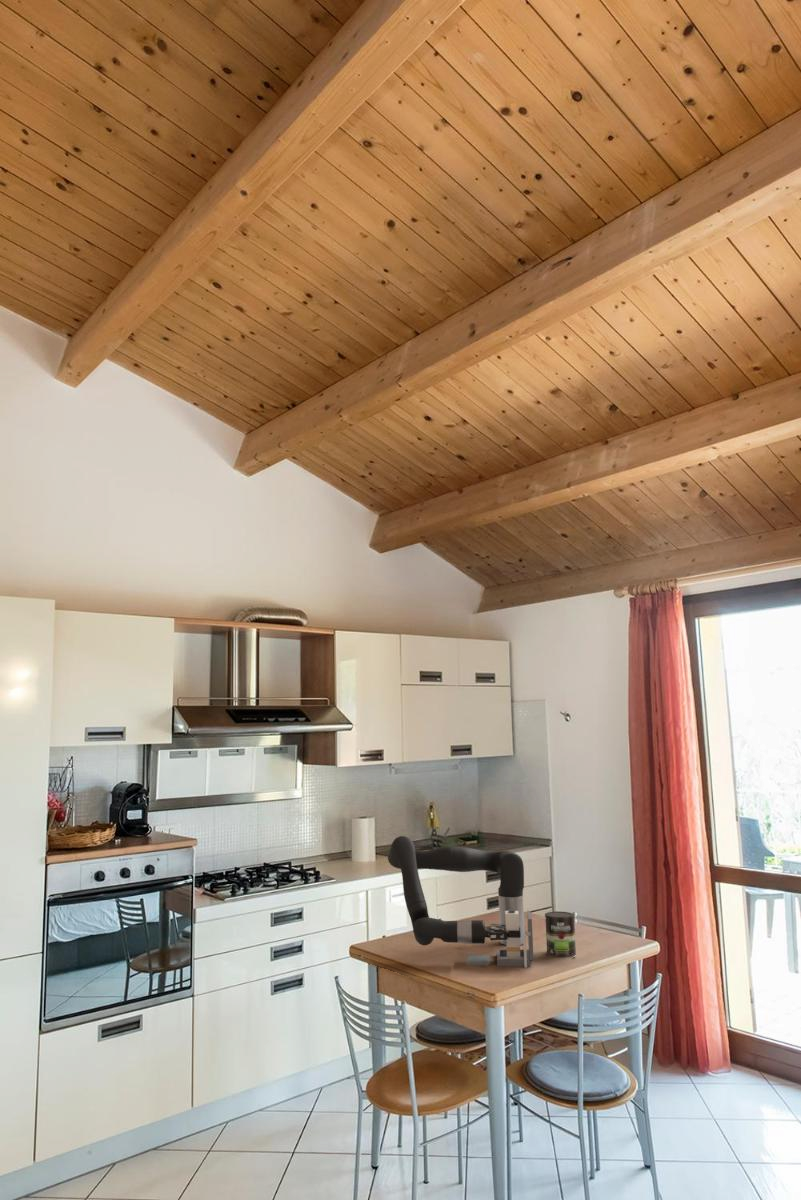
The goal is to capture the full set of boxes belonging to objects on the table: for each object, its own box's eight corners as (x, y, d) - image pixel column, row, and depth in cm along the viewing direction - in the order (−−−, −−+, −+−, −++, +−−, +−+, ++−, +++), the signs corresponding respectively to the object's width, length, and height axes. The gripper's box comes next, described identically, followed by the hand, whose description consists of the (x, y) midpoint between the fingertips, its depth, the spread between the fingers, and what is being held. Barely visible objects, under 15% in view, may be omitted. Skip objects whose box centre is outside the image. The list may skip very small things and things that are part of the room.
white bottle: (506, 956, 283) (505, 908, 285) (520, 956, 282) (518, 908, 285) (507, 960, 278) (505, 911, 280) (520, 960, 277) (518, 911, 280)
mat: (467, 958, 287) (467, 955, 288) (490, 958, 287) (490, 955, 287) (465, 967, 276) (465, 964, 276) (489, 968, 275) (489, 965, 275)
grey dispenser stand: (497, 958, 287) (495, 910, 290) (532, 958, 286) (530, 910, 288) (497, 970, 272) (495, 919, 275) (534, 970, 271) (531, 920, 273)
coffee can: (577, 960, 283) (575, 917, 285) (547, 959, 284) (545, 917, 287) (575, 952, 293) (573, 911, 295) (546, 952, 294) (544, 911, 297)
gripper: (469, 925, 277) (520, 925, 275) (471, 916, 291) (519, 916, 289) (470, 948, 276) (521, 948, 274) (472, 938, 290) (520, 938, 288)
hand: (520, 932), depth 281 cm, fingers closed on white bottle, 5 cm apart
